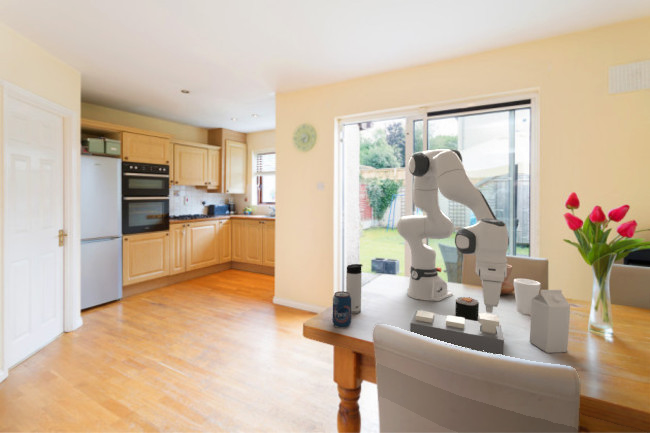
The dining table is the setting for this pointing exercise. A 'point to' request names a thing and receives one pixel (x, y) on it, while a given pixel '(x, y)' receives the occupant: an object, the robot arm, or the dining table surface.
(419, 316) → the knob
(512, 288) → the ceramic jug
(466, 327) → the block
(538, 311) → the milk carton
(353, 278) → the travel mug
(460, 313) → the sushi
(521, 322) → the dining table surface
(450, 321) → the knob middle
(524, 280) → the foam cup
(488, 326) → the knob
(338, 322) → the soda can
